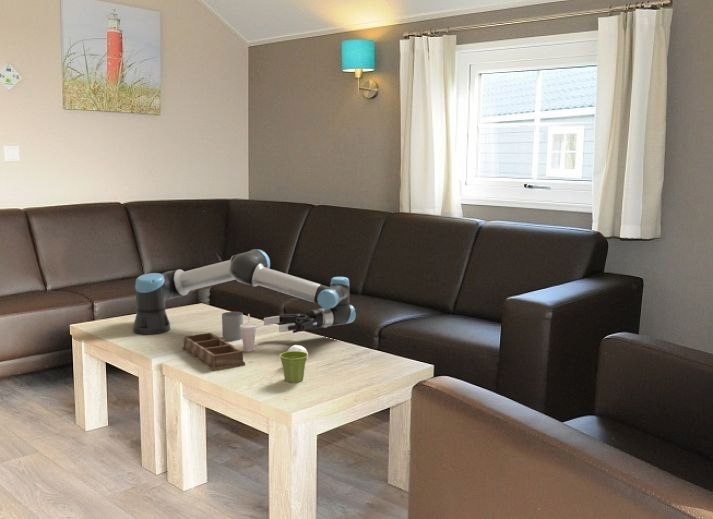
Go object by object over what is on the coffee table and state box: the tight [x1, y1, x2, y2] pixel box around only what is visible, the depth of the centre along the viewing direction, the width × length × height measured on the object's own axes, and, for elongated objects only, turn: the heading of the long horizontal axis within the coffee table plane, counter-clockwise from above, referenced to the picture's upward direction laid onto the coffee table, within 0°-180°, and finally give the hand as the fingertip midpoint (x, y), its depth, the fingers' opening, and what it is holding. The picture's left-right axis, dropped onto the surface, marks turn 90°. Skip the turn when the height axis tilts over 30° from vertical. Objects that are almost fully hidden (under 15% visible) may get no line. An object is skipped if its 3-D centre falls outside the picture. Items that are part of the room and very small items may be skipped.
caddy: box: [181, 332, 246, 371], centre depth 269 cm, size 32×12×5 cm, turn 32°
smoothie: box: [240, 313, 258, 353], centre depth 277 cm, size 6×6×14 cm
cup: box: [221, 311, 244, 342], centre depth 295 cm, size 8×8×10 cm
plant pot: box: [279, 351, 309, 383], centre depth 242 cm, size 9×9×9 cm
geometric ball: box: [286, 344, 309, 364], centre depth 257 cm, size 8×8×8 cm
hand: (271, 325), depth 282 cm, fingers open, 13 cm apart
